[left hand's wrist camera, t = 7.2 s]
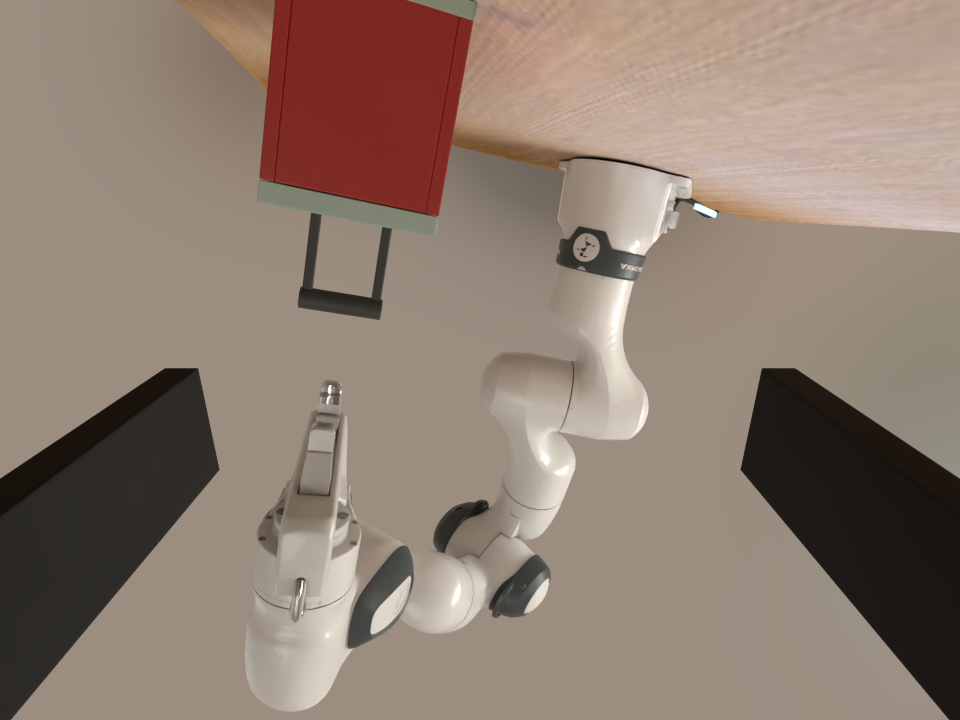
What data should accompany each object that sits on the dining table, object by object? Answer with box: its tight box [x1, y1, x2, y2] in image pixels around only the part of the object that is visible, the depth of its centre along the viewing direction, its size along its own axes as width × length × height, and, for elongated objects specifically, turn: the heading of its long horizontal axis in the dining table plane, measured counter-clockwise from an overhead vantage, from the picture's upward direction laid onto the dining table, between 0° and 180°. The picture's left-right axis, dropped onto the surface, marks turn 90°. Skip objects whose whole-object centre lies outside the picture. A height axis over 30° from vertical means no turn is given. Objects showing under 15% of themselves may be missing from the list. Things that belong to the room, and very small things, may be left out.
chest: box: [260, 0, 477, 216], centre depth 33 cm, size 13×10×11 cm
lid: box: [257, 180, 438, 320], centre depth 36 cm, size 14×10×9 cm
